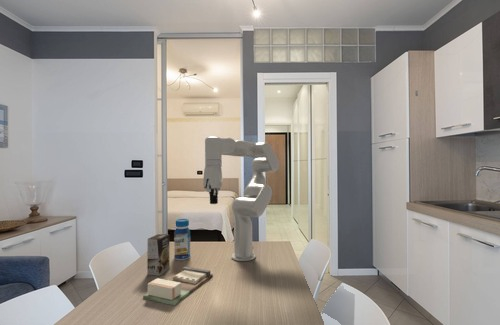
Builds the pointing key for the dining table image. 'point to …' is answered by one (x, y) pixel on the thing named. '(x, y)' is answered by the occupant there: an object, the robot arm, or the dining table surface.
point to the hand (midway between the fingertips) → (213, 203)
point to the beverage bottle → (182, 240)
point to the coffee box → (158, 254)
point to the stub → (164, 288)
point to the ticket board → (185, 284)
